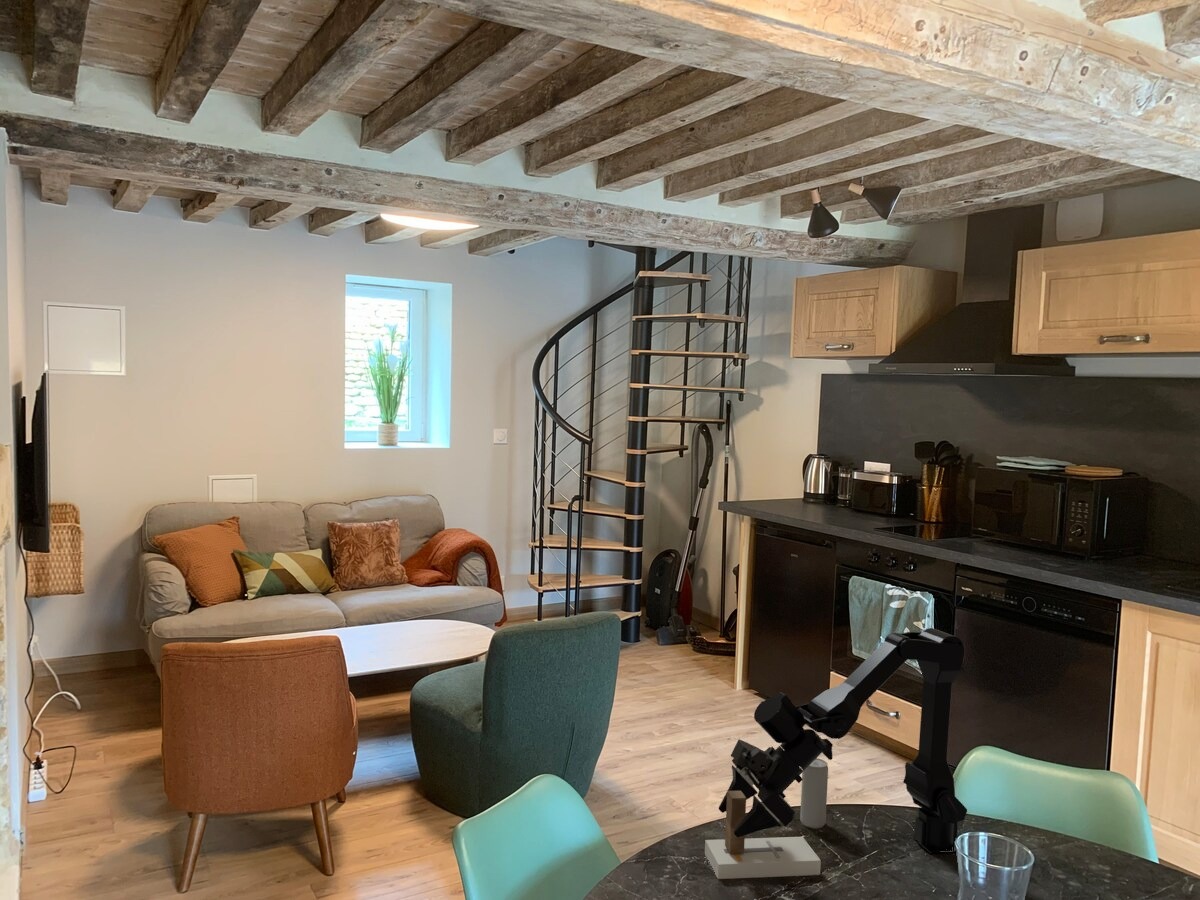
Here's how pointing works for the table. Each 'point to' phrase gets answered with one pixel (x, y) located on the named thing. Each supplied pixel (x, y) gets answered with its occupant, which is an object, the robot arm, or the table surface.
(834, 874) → the table surface
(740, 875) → the fader console
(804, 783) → the beverage can
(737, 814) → the lever
